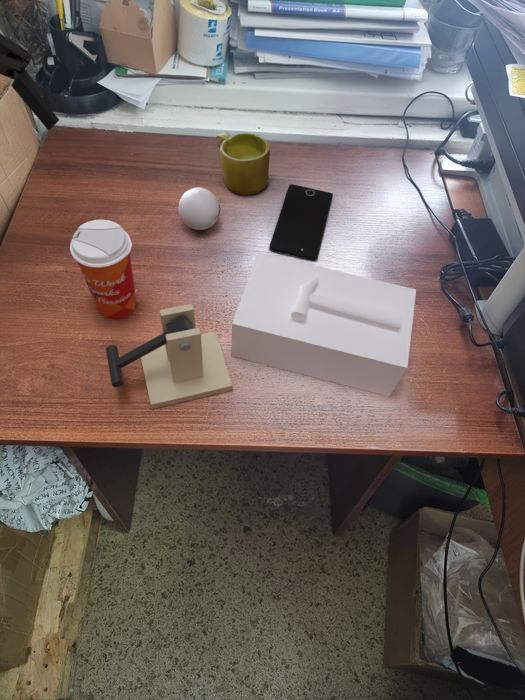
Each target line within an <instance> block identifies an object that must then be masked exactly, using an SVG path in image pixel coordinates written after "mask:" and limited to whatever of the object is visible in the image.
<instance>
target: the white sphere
mask: <svg viewBox="0 0 525 700" xmlns="http://www.w3.org/2000/svg"><path fill="white" fill-rule="evenodd" d="M177 210H178V214H179V217H180V220H181V221H182V222H183V224H184V225H186V226H187V227H188V228H189V229H193V230H197V231H202V230H203V231H204V230H206V229H209V228H211V227H212V226H213V225H214V224H215V223H216V222H217V220H218V218H219V217H220V213H221V205H220V203H219V200H218V198H217V196H215V194H214V193H213V192H212V191H211V190H209V189H207V188H204V187H193V188H190V189H188V190H186V191H185V192H184V193H183V194H182V196H181V197H180V199H179V202H178V209H177Z"/></svg>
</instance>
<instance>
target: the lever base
mask: <svg viewBox="0 0 525 700" xmlns="http://www.w3.org/2000/svg"><path fill="white" fill-rule="evenodd" d="M159 315H160V316H159V317H160V321H161V328H162V334H163V333H164V332H166V331H167V328H166V324H167V323H169V322H171V321H173V320H174V319H176V318H178V317H180V316H181V315H184V316H185V317H187V318H188V319H189V320H190V321H192V322H193V326H194V329H190V330H185V331H180V332H176V333H171V334H166V341H167V344H165V345H163V346H161V347H159V348H158V349H156V350H154V351H152V352H150V353H148V354H147V355H145V356H143V357H141V358H140V361H141V365H142V371H143V376H144V380H145V385H146V389H147V395H148V398H149V400H148V401H149V404H150V408H151V410H154V409H159V408H163V407H166V406H167V407H168V406H171V405H175V404H180V403H184V402H189V401H193V400H197V399H202V398H205V397H209V396H215V395H218V394H222V393H226V392H231V391H233V387H234V386H233V385H234V384H233V382H232V379H231V376H230V373H229V370H228V369H229V368H228V366H227V363H226V360H225V356H224V353H223V349H222V347H221V344H220V341H219V337H218V334H217V331H216V330H215V331H210V332H206V333H202V332H201V328H200V327H196V319H195V318H196V317H195V308H194V305H193V303H190V304H183V305H178V306H174V307H169V308H164V309H159Z"/></svg>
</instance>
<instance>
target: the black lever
mask: <svg viewBox="0 0 525 700" xmlns="http://www.w3.org/2000/svg"><path fill="white" fill-rule="evenodd" d="M166 328H167V331H166V332H164V333H163V332H162V333H161V334H158V335H157V336H156V337H154V338H152V339H150V340H148V341H146V342H145V343H143V344H141V345H139V346H138V347H135V348H134V349H132V350H130V351H128V352H126V353H125V354H123V355H121V356H120V355H119V349H118V346H117V345H115V344H111V345H108V346H106V348H105V353H106V359H107V365H108V370H109V371H108V372H109V377H110V382H111V387H113V388H120V387H122V386H124V384H125V383H124V377H123V371H122V369H123V368H124V367H127V366H128V365H130V364H132V363H134V362H136V361H138V360H139V359H141V357H143V356H145V355H147V354H148V353H150V352H152V351H154V350H156V349H158V348H159V347H161V346H163V345H165V344H167V341H166V334H171V333H176V332H180V331H185V330H190V329H194V326H193V322H192V321H190V320H189V319H188V318H187V317H185V316H184V315H181V316H180V317H178V318H176V319H174V320H173V321H171V322H169V323H167V324H166Z"/></svg>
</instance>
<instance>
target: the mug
mask: <svg viewBox="0 0 525 700" xmlns="http://www.w3.org/2000/svg"><path fill="white" fill-rule="evenodd" d="M216 143H217V146H218V148H219V160H220V166H221V171H222V175H223V181H224V183H225V185H226V186H227V188H229V189H228V190H231V191H232V192H234V193H235V194H238V195H243V196H246V195H254V194H257V193H259V192H261V191H263V190H264V189H265V187H267V185H268V183H269V179H270V174H269V170H270V159H271V158H270V157H271V146H270V144H269V142H268V141H267V140H266V139H265V138H264V137H263V136H260V135H258V134H256V133H251V132H241V133H237V134H234V135H232V136H231V134H230V133H229V132H227V131H223V132H221V133H219V134H217V135H216Z"/></svg>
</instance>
